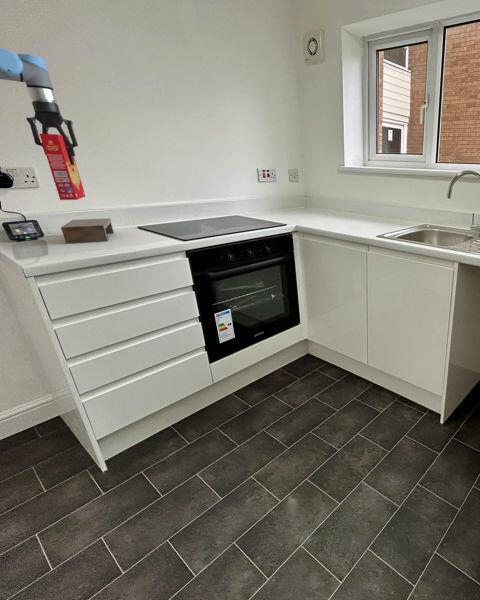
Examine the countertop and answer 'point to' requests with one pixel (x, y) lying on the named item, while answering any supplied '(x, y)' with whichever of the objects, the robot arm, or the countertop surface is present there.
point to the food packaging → (62, 167)
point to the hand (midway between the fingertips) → (63, 164)
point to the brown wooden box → (87, 230)
